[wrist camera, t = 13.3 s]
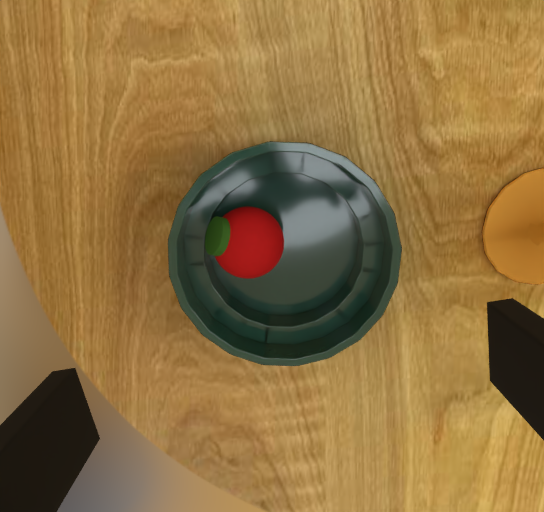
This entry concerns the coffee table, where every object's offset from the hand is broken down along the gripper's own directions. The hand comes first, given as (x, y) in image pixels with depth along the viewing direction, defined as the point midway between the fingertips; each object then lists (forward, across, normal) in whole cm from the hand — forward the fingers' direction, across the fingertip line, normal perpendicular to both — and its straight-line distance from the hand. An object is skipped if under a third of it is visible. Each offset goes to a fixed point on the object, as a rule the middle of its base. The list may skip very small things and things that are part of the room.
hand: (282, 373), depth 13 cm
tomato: (+17, 0, 0) cm, 17 cm away
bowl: (+19, 0, -1) cm, 19 cm away
